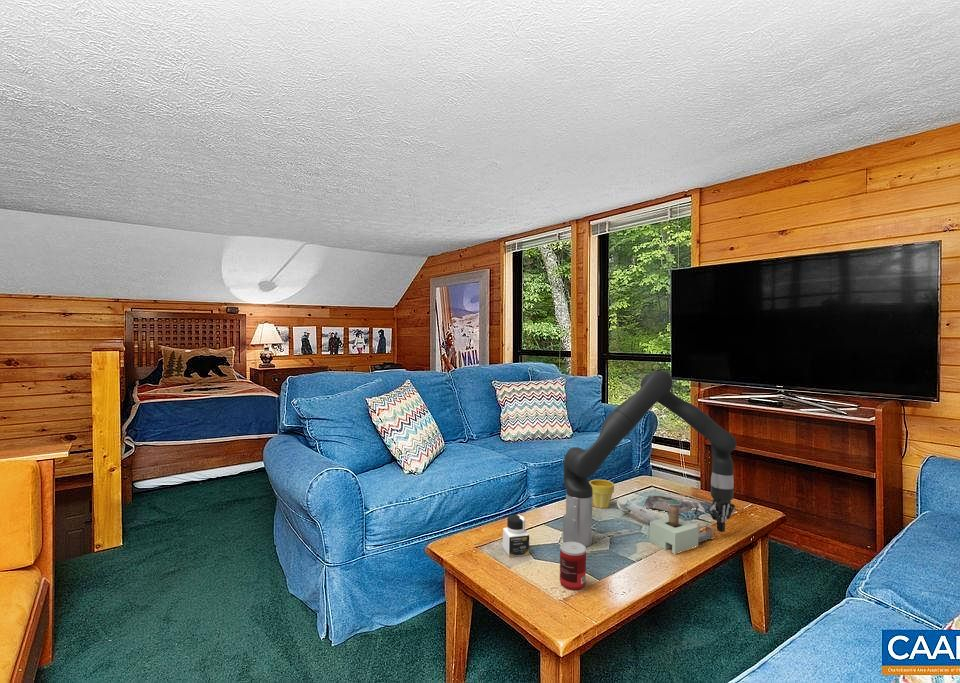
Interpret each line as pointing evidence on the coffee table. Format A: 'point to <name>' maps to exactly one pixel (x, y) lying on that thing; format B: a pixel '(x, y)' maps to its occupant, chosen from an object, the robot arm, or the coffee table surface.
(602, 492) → the plant pot
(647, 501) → the terrain model
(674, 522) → the dowel
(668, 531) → the dock
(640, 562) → the coffee table surface
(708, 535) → the pin
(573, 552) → the canned food
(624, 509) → the white handheld tool
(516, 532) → the medicine bottle
